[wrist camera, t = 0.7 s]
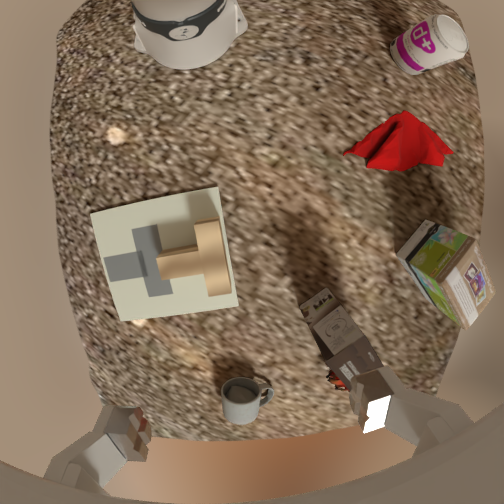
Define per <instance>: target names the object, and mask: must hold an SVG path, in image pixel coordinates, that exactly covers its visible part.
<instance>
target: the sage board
mask: <svg viewBox="0 0 504 504" xmlns="http://www.w3.org/2000/svg"><path fill="white" fill-rule="evenodd" d="M90 215H91V220H92V224H93V229H94V233H95V237H96V241H97V245H98V249H99V253H100V257H101V260H102V264H103V268H104V271H105V275H106V278H107V281H108V284H109V288H110V291H111V294H112V297H113V300H114V303H115V306H116V309H117V312H118V315H119V318H120V320H121V321H129V320H138V319H147V318H156V317H164V316H172V315H180V314H187V313H195V312H202V311H209V310H216V309H222V308H229V307H235V306H239V304H238V299H237V293H236V288H235V282H234V277H233V271H232V265H231V260H230V254H229V248H228V243H227V237H226V231H225V225H224V219H223V213H222V207H221V201H220V195H219V189H218V187H213V188H207V189H201V190H196V191H190V192H185V193H180V194H175V195H170V196H165V197H160V198H155V199H150V200H146V201H141V202H137V203H132V204H128V205H124V206H119V207H115V208H111V209H107V210H103V211H99V212H95V213H91V214H90ZM217 216H220V222H221V227H222V233H223V239H224V245H225V250H226V256H227V262H228V267H229V273H230V278H231V289H232V293H231V294H225V295H218V296H212V297H209V296H208V292H207V287H206V283H205V278H204V274H199V275H193V276H186V277H180V278H173V279H167V280H161V276H160V272H159V268H158V264H157V260H156V257H157V256H158V255H159V254H160V252H161V251H162V250H165V249H170V248H176V247H182V246H188V245H194V244H197V239H196V234H195V229H194V224H195V223H196V221H197V220H200V219H205V218H211V217H217Z"/></svg>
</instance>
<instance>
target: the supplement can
mask: <svg viewBox="0 0 504 504" xmlns="http://www.w3.org/2000/svg"><path fill="white" fill-rule="evenodd" d="M468 48H469V44H468V40H467V37H466V35H465V33H464V31H463V30H462V28H461V27H460V26H459V24H458V23H457V22H455V21H454V20H453V19H452V18H450V17H449V16H446V15H436V14H435V15H431V16H430V17H428V18H426V19H425V20H423V21H421V22H420V23H418V24H417V25H415V26H413V27H412V28H410V29H409V30H407V31H406V32H404V33H402V34H401V35H399V36H398V37H396V38H395V39H393V41H392V42H391V45H390V51H391V55H392V57H393V59H394V61H395V63H396V64H397V65H398V66H399V67H400V68H401V69H402V70H404V71H405V72H407V73H409V74H411V75H418V74H420V73H423V72H425V71H428V70H430V69H433V68H436V67H438V66H441V65H444V64H446V63H449V62H452V61H455V60H457V59H460V58H462V57H464V55H465V53H466V52H467V51H468Z"/></svg>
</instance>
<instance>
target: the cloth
mask: <svg viewBox="0 0 504 504" xmlns="http://www.w3.org/2000/svg"><path fill="white" fill-rule="evenodd" d="M384 142H385V143H384ZM377 150H378V151H377ZM346 153H353V154H356V155H358V156H361V157H365V158H370V159H369V161H368V164H367V167H366V168H376V169H383V170H389V171H394V170H398V171H405V170H407V169H409V168H411V167H413V166H415V165H417V164H418V163H423V164H430V165H435V166H443V162H444V158H445V157H444V155H443V153H444V154H445V155H446V154H453V151H452V150H451V149H450V148H449V147H448V146H447V145H446V144H445V143H444V142H443V141H442V140H441V139H440V138H439V137H438V136H437V135H436V134H435V133H434V132H433V131H432V130H431V129H430V128H429V127H428V126H427V125H426V124H425V123H424V122H420V121H419V120H418V119H417V118H416V117H415V116H414V115H413V114H411V113H409V112H408V111H404V110H403V112H402V113H401V114H396V115H394V116H392V117H390V118H389V119H388V120H387V121H385V124H383V123H382V124H380V125H379V126H378V127H377V128H376V129H374V130H373V131H372V132H371V133H369V134H368V135H367V136H366V137H365V138H364V139H363V140H362V141H359V142H358V143H357V144H355V145H354V146H353V148H352V149H351V150H348V151H346V152H345V153H344V154H343V156H344V155H345V154H346Z"/></svg>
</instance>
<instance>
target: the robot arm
mask: <svg viewBox="0 0 504 504" xmlns="http://www.w3.org/2000/svg"><path fill="white" fill-rule="evenodd" d="M131 1H132V8H133V11H134V20H135V24H134V25H133V28H134V31H135V33H136V36H135V41H134V47H135V49H136V50H137V51H139V52H142V53H145V54H149V55H150V56H152V57H153V58H154V59H155V60H156V61H157V62H159V63H160V64H162V65H164V66H166V67H169V68H174V69H194V68H198V67H202V66H205V65H207V64H209V63H211V62H213V61H215V60H216V59H218V58H219V57H220V56H222V55H223V54H224V53H225V52H226V51H227V49H228V48H229V47H230V45H231V43H232V42H233V40H234V39H235V38H236V37H238V36H239V35H241V34H242V33H244V32H245V31H246V30H247V28H248V24H247V21H246V19H245V17H244V15H243V13H242V11H241V9H240V7H239V5H238V3H237V1H236V0H131ZM238 20H240V21H239V22H238ZM350 384H351V386H352V388H353V389H352V390H351V391H350V397H349V399H350V405H351V408H352V410H353V412H354V414H356V415H358V416H359V417H358V422H359V424H360V426H361V428H362V430H363V432H364V433H365V432H368V431H372V430H375V429H378V428H381V427H384V428H386V429H388V430H389V431H391V432H393V433H394V434H396V435H398V436H400V437H401V438H403V439H405V440H407V441H408V442H410V443H412V444H414V445H416V446H417V448H416V450H415V452H414V454H413V456H412V458H410V459H408V460H406V461H403V462H401V463H399V464H397V465H394V466H392V467H389V468H387V469H384V470H381V471H379V472H376V473H373V474H371V475H368V476H365V477H362V478H359V479H356V480H353V481H349V482H346V483H343V484H339V485H336V486H332V487H329V488H325V489H321V490H316V491H312V492H308V493H303V494H298V495H293V496H288V497H282V498H275V499H269V500H260V501H251V502H241V503H227V504H504V402H503V403H502V404H501V405H499V406H498V407H497V408H495V409H494V410H492V411H491V412H490V413H488V414H487V415H486V416H484V417H483V418H481V419H480V420H478V421H477V422H475V423H474V422H473V421H472V420H471V419H470V417H469V416H468V415H467V414H466V413H465V412H464V410H463V409H462V408H461V407H460V406H459V405H458V404H455V403H452V402H449V401H446V400H443V399H440V398H437V397H434V396H431V395H428V394H425V393H422V392H420V391H417V390H414V389H411V388H410V389H407V388H406V387H405V386H404V385H403V383H402V382H401V381H400V379H399V378H398V377H397V376H396V374H395V373H394V372H393V370H392V369H391V368H390V367H389V366H384V367H381V368H378V369H375V370H372V371H369V372H365V373H362V374H359V375H355V376H352V378H351V383H350ZM142 416H143V411H142V410H141V408H140V407H137V406H112V405H105V406H104V407H103V409H102V411H101V413H100V415H99V418H98V420H97V422H96V424H95V427H94V429H93V432H88V433H87V434H85V435H84V436H83V437H81V438H80V439H78V440H77V441H76V442H74V443H73V444H71V445H70V446H69V447H67V448H66V449H64V450H63V451H61V452H60V453H58V454H57V455H56V456H54V457H53V458H52V460H51V462H50V464H49V466H48V468H47V471H46V473H45V475H44V477H43V478H41V477H39V476H36V475H33V474H30V473H28V472H26V471H23V470H21V469H18V468H16V467H14V466H11V465H9V464H7V463H5V462H3V461H1V460H0V504H172V503H158V502H147V501H139V500H131V499H124V498H118V497H112V496H110V495H109V494H108V493H107V492H106V491H105V490H104V489H103V487H104V486H105V485H106V484H107V483H108V481H110V480H111V479H112V477H113V476H114V475H115V474H116V473H117V472H118V471H119V470H120V469H121V468H122V467H123V465H125V464H126V462H127V461H142V462H145V461H146V459H147V454H148V448H147V446H146V445H147V444H148V443H149V442H150V441H151V436H152V435H151V427H150V424H149V422H148V420H146V419H145V418H143V417H142Z"/></svg>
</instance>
